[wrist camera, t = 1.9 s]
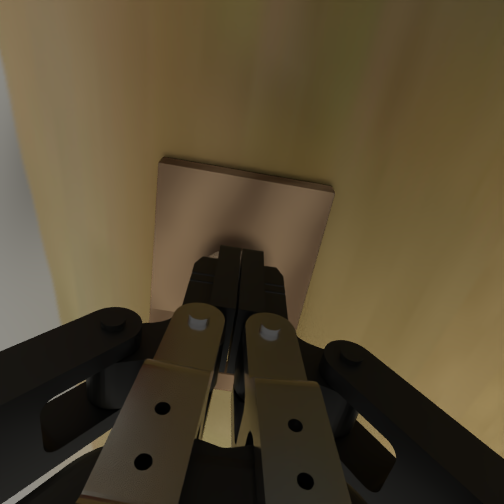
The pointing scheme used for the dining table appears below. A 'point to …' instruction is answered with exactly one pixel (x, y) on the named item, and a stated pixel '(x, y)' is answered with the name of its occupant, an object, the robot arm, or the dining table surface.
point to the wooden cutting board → (233, 230)
